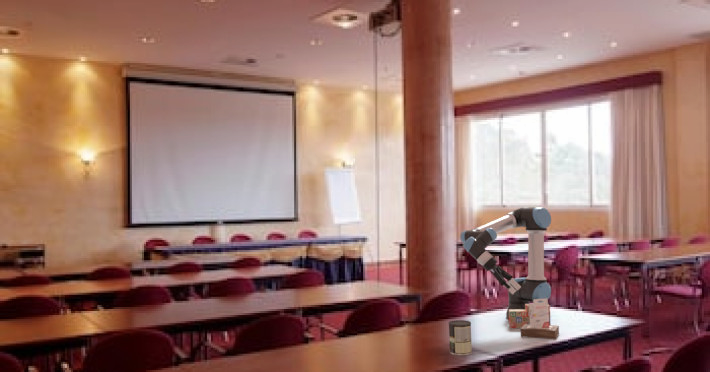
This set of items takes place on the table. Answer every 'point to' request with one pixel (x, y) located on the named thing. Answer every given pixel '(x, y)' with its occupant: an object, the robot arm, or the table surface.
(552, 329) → the walnut plinth
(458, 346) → the coffee can
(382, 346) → the table surface
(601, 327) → the table surface
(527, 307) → the stack of blocks
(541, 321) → the ink cartridge box
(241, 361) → the table surface
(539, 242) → the robot arm
